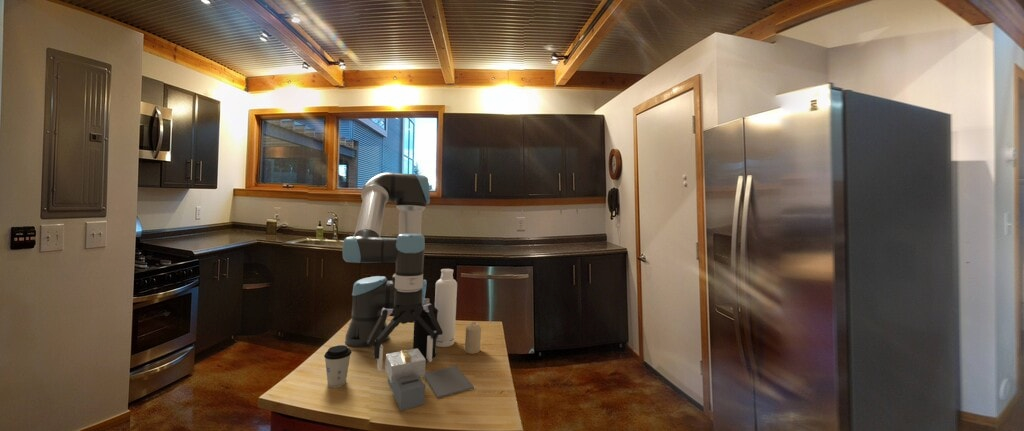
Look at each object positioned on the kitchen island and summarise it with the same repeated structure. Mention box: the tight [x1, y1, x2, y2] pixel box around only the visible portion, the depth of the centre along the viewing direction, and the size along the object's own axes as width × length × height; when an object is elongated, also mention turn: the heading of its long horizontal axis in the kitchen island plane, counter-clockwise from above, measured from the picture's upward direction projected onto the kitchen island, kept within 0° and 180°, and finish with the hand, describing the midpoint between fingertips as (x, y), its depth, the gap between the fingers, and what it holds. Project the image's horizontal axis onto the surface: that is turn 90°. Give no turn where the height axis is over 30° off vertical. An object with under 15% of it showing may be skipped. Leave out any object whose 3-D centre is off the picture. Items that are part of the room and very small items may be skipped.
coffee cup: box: [323, 344, 352, 388], centre depth 93 cm, size 7×7×10 cm
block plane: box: [387, 376, 426, 412], centre depth 90 cm, size 16×6×6 cm, turn 32°
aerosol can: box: [412, 297, 438, 362], centre depth 112 cm, size 8×8×20 cm
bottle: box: [434, 268, 458, 348], centre depth 124 cm, size 8×8×28 cm
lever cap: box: [384, 348, 427, 383], centre depth 91 cm, size 8×9×6 cm
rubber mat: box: [423, 365, 475, 399], centre depth 97 cm, size 14×11×1 cm
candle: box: [464, 321, 482, 355], centre depth 119 cm, size 6×6×10 cm
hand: (405, 364), depth 91 cm, fingers open, 13 cm apart
